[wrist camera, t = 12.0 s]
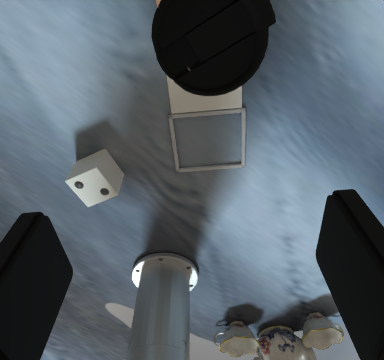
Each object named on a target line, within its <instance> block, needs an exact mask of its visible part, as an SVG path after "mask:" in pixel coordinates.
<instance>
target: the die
mask: <svg viewBox="0 0 384 360" xmlns="http://www.w3.org/2000/svg"><path fill="white" fill-rule="evenodd" d="M124 175H125V174H124V173H123V172H122V170H121V169H120V168H119V166H118V165H117V164H116V162H115V161H114V160H113V158H112V157H111V156H110V154H109V153H108V152H107V150H106V149H103V150H100V151H98V152H96V153H94V154H92V155H89V156H87V157H85V158H83V159H81V160H78V161H76V163H75V165H74V166H73V168H72V170H71V172H70V173H69V175H68V177H67V179H66V180H65V182H66V183H67V184H68V185H69V186H70V188H71V189H72V190H73V191H74V192H75V193H76V194H77V195H78V197H79V198H80V199H81V200H82V201H83V202H84V203H85V204H86V206H87V207H90V206H93V205H95V204H98V203H100V202H103V201H105V200H108V199H110V198H113V197H115V196H118V194H119V191H120V188H121V185H122V182H123V178H124Z"/></svg>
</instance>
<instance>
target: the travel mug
mask: <svg viewBox="0 0 384 360" xmlns="http://www.w3.org/2000/svg"><path fill="white" fill-rule="evenodd" d="M275 22H276V18H275V14H274V11H273V8H272V5H271V3H270V0H161V1H160V3H159V5H158V7H157V10H156V12H155V15H154V19H153V23H152V41H153V45H154V49H155V53H156V56H157V60H158V62H159V64H160V66H161V68H162V70H163V71H164V72H165V73H166V75H167V76H168V77H169V78H170V79H172V80H174V82H175V83H176V84H177V85H178V86H180V87H181V88H182V89H183V90H185V91H187V92H189V93H192V94H195V95H200V96H218V95H223V94H227V93H229V92H231V91H234V90H236V89H237V88H239V87H241V86H242V85H244V84H245V83H246V82H247V81H248V80H249V79H250V78H251V77H252V76H253V75H254V74H255V72H256V71H257V69H258V68H259V66H260V64H261V62H262V60H263V58H264V56H265V52H266V49H267V45H268V36H269V35H268V27H269V26H271V25H272V24H274V23H275Z"/></svg>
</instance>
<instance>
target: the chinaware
mask: <svg viewBox="0 0 384 360" xmlns="http://www.w3.org/2000/svg"><path fill="white" fill-rule="evenodd" d="M306 318H308V319H307V320H306V322H305V324H304V326H303V336H302V339H301V338H299V337H297V336H296V335H294V331H293V330H292V329H291V328H289V327H286V326H271V327H267V328H265V329H263V330H262V331H261V332H260V333H259V334H258V338H259V340H258V341H257V340H256V339H255V337H254V335H253V333H252V331H251V330H250V329H249V328H248V327H247V326H245V325H244V324H243V322H242V321H235V320H234V322H232V323H230V325H231V326H230V327H228V328H225V333H218V334H216V335H215V337H214V343H215V345H216V346H217V347H220V351H221V352H223V353H225V352H227V353H228V354H229V355H231V356H233V357H239V356H241V355H243V354H244V353H245V354H249V355H251V354H254V353H255V352H256V353H257V355H258V356H259V357H260V358H261V359H262V360H301V359H304V360H316V356H315V353H314V351H313V349H312V347H315V348H317V349H323V350H324V349H327V348H329V347H330V346H331V345H332V344H339V343H341V342H342V340H343V335H344V333H343V331H342V329H341V327H340V326H339V325H337V324H334V323H333V322H332V321H331V320H329V319H328V318H326V317H324V316H323V315H321V314H320V313H319V312H317V313H310V314H309V315H308V317H306ZM336 326H337V327H338V328H339V329H337V328H336ZM219 334H224V336H223V341H222V343H220V346H218V345H217V344H216V342H215V339H216V337H217V336H218V335H219ZM259 357H255V358H254V359H253V360H261V359H260V358H259Z"/></svg>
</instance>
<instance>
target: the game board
mask: <svg viewBox="0 0 384 360" xmlns="http://www.w3.org/2000/svg"><path fill="white" fill-rule="evenodd" d="M160 1H161V0H156V3H157V7H158V5H159V3H160ZM166 76H167V75H166ZM167 83H168V90H169V98H170V105H171V112H172V114H168V118H169V125H170V132H171V139H172V146H173V153H174V159H175V166H176V173H178V172H192V171H205V170H218V169H231V168H244V167H245V127H246V108H242V86H241V87H239V88H237V89H236V90H234V91H231V92H229V93H227V94H223V95H218V96H200V95H195V94H192V93H189V92H187V91H185V90H183V89H182V88H181V87H180V86H178V85H177V84H176V83H175V82H174V80H172V79H170V78H169V77H168V76H167ZM232 108H234V109H232ZM220 109H223V110H220ZM208 110H211V111H208ZM197 111H199V112H197ZM185 112H188V113H185ZM173 113H176V114H173ZM233 113H241V163H239V164H226V165H213V166H200V167H187V168H179V161H178V153H177V146H176V139H175V132H174V124H173V119H174V118H186V117H198V116H210V115H221V114H233Z"/></svg>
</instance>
